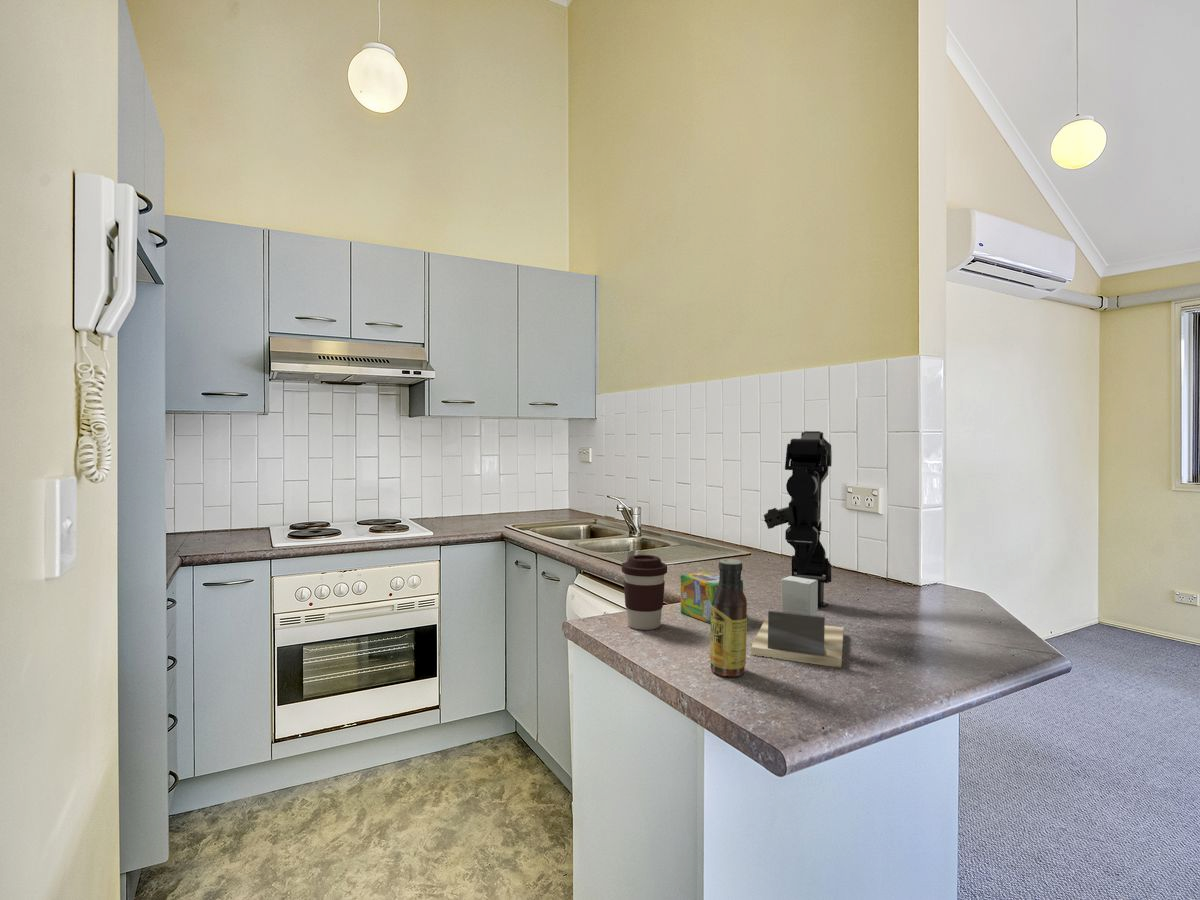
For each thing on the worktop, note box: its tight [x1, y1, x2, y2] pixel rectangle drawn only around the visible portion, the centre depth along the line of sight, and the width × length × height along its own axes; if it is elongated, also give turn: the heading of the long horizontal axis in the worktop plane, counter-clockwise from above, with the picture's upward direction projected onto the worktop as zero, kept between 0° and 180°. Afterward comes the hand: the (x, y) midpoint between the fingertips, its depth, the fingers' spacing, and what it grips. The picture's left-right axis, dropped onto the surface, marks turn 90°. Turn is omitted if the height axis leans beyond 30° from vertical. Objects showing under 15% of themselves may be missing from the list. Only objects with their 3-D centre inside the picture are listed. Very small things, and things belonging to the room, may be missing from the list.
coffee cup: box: [621, 554, 668, 631], centre depth 134 cm, size 10×10×15 cm
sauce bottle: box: [709, 558, 748, 678], centre depth 108 cm, size 7×6×20 cm
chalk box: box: [680, 570, 744, 625], centre depth 140 cm, size 9×9×15 cm
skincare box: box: [780, 575, 819, 616], centre depth 121 cm, size 6×4×12 cm
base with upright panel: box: [750, 610, 844, 669], centre depth 123 cm, size 20×16×8 cm
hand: (803, 568), depth 134 cm, fingers open, 9 cm apart
